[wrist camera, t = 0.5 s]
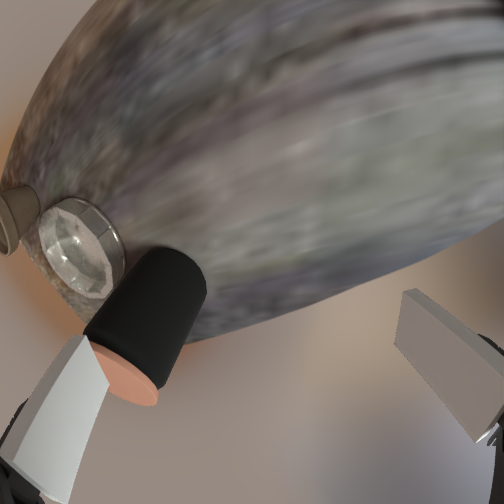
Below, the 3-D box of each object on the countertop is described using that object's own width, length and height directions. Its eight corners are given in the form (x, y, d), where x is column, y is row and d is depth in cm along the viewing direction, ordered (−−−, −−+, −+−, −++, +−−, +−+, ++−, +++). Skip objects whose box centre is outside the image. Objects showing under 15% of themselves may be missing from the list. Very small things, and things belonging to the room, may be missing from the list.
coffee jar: (136, 279, 40) (73, 368, 26) (152, 230, 34) (67, 329, 20) (194, 314, 42) (148, 413, 27) (222, 271, 36) (167, 391, 21)
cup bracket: (50, 186, 34) (33, 196, 31) (126, 215, 34) (109, 229, 31) (61, 262, 43) (48, 275, 40) (127, 296, 43) (116, 312, 40)
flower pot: (10, 190, 37) (-25, 214, 28) (26, 160, 32) (-17, 184, 24) (36, 236, 41) (3, 265, 33) (56, 213, 37) (15, 245, 28)
